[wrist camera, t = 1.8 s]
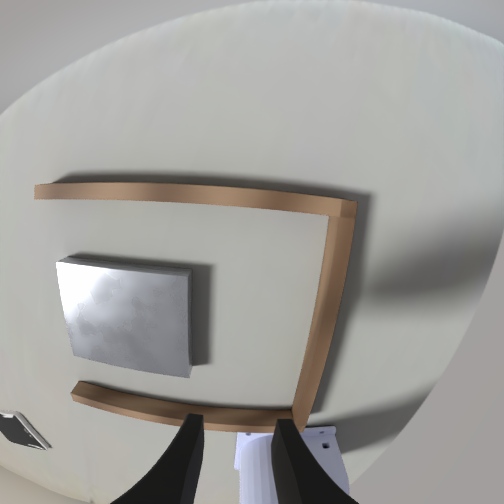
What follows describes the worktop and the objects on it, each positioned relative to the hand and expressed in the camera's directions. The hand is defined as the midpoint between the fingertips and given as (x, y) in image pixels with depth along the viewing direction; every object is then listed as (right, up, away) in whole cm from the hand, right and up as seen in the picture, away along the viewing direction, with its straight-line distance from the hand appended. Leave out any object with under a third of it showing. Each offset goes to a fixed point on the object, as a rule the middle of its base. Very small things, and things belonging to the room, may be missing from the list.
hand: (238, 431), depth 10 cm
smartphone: (-38, -21, +15) cm, 46 cm away
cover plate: (-9, +3, +9) cm, 13 cm away
